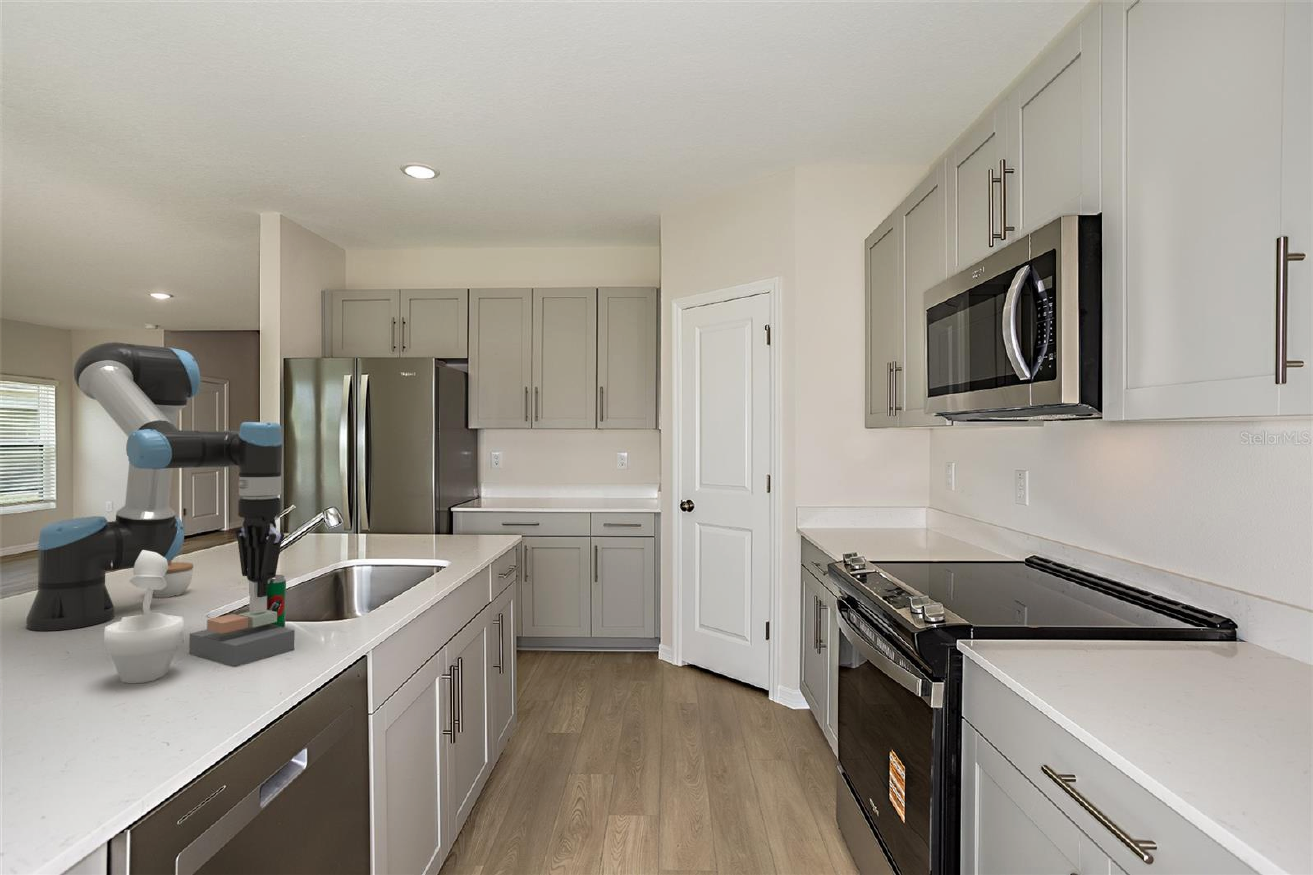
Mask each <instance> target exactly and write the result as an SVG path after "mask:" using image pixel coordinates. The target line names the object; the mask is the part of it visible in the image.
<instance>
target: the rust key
mask: <svg viewBox="0 0 1313 875" xmlns="http://www.w3.org/2000/svg"><path fill="white" fill-rule="evenodd" d="M247 627H248V617H245V616H240V615H238V614H235V613H232V614H226V615H222V616H218V617H217V616H216V617H213V618H209V619H206V630H210V631H214V632H217V633H221V634H223V633H227V632H231V631H235V630H239V629H243V628H247Z"/></svg>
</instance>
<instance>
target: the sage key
mask: <svg viewBox="0 0 1313 875" xmlns="http://www.w3.org/2000/svg"><path fill="white" fill-rule="evenodd" d="M237 615H240V616H245V617H248V627H252V628H254V627H258V626H262V625H266V624H270V623H274V622H277V612H274V611H270V610H267V611H265V612H261V613H256V614H251V613H249V611H246V612H241V613H238V614H237Z"/></svg>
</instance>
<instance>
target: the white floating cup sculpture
mask: <svg viewBox="0 0 1313 875" xmlns="http://www.w3.org/2000/svg"><path fill="white" fill-rule="evenodd" d="M123 550H124V548H123ZM111 566H113V564H112V563H111ZM168 568H169V567H168V563H167V559H166V558H164V557H163V556H161V555H160V554H158V553H156V552H151V551H146V550H142V552H141V553H140V555H139V556H138V558H137V560H136V562H135V565H134V568H132V573H133V576H132V577H131V578H130V579H129V580H128V582H129V583H130V584H131V585H133V586H135V587H136V588H140V589H145V593H144V595H143V602H142V609H143V614H139V615H132V616H129V615H128V616H122V618H121V620H119V621H115V622H113V623H111V624H108V625H105V626H104V640H103V641H104V642H103V643H104V646H103V647H104V648H103V649H104V651H103V652H104V653H103V654H105V655H110V657H111V659H112V662H113V664H114V667H115V669H116V672H117V673H118V677H119V679H120V682H122V683H123V682H124V683H127V684H133V685H134V684H144V683H149V682H153V681H156V680H159V679H160V678H162V677H164V676H165V675H167V673H168V671H169V669H170V665H171V664H172V661H173V658H174V656H175V654H176V651H177V648H178V646H179V645H181V644H182V643H184V637H185V636H184V635H185V634H184V632H185V630H184V629H185V620H184V617H183V616H179V615H171V614H170V615H168V614H164V613H161V612H160V613H159V612H152V610H151V602H152V599H153V596H154V595H153V590H162V589H163V588H165V587H166V586H167V583H166V581H165V579H164V578H163V577H164V575H165V573H166V571H167V570H168Z"/></svg>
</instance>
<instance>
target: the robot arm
mask: <svg viewBox="0 0 1313 875" xmlns="http://www.w3.org/2000/svg"><path fill="white" fill-rule="evenodd" d="M73 378H74V382H75V384H76V386H77V387H78V389H79V390H80V391H81V392H82V393H83V394H84V396H86V397H88V398H90V399H93V400H96V402H98V403H99V405H100V406H101V408H103V410H104V411H105V412H106V413H107V414H108V415H109V417H111V419H112V420H113V421H114V422H115V423H116V425H117V426H118V428H120V430H121V431H122V432H123V433H124V434H125V435H126V436H127V440H126V445H125V446H126V448H125V450H126V451H125V453H126V455H127V457H128V462H129V463H128V473H127V481H126V482H127V483H126V492H125V502H124V503H125V504H124V506H122V507H121V508H119V509H118V510H117V511H116V513H115V514H116V515H115V521H114V520H113V521H108V520H107V518H106V517H105V516H98V515H97V516H86V517H76V518H70V519H65V520H60V521H55V522H52V523H50V524H47V525H45V526H43V527H42V528H41V530H40V531H39V538H38V544H37V548H36V549H37V550H38V557H37V559H38V566H37V571H38V572H37V574H38V576H37V593H36V596H35V598H34V600H33V602H32V605H31V607H30V608H29V611H28V613H27V617H26V629H28V630H32V631H39V632H40V631H43V632H44V631H45V632H46V631H63V630H64V631H65V630H72V629H79V628H85V627H90V626H94V625H98V624H102V623H105V622H108V621H110V620H112V619H113V618H114V617H115V606H114V603H113V600H112V598H111V596H110V594H109V591H108V588H107V586H106V573H107V572H111V571H113V572H114V571H120V570H127V569H134V565H135V562H136V560H137V558H138V556H139V555H140V553H141V552H142V550H146V551H151V552H156V553H158V554H160V555H161V556H163V557H164V558H166V559H167V562H170V561H171V562H173V560H174V559H175V558H176V557H177V556H178V555H179V553H180V551H181V550H182V548H183V544H184V539H185V530H184V524H183V522H182V520H181V518H179V517H177V516H176V511H175V510H174V509H172V508H171V507H170V498H171V487H172V478H173V469H183V468H184V469H185V468H186V469H188V468H192V469H193V468H231V467H234V468H236V467H237V468H238V476H239V477H238V478H239V479H238V480H239V481H238V482H237V485H238V495H239V497H241V498H240V499H239V500H238V502H237V503H238V506H237V507H238V508H237V512H238V513H237V514H238V516H239V517H240V518H242V519H243V518H244V519H243V523H242V527H241V528H239V529H235V530H234V534H235V537H236V539H237V540H236V541H237V546H238V551H239V552H238V554H239V562H240V569H241V576H242V577H246V578H247V581H249V585H248V586H249V588H248V590H249V591H248V592H249V601H248V602H249V603H248V604H249V608H248V610H249V611H248V612H249V613H251V614H256V613H261V612H265V611H267V594H268V580H269V579H270V578H274V577H275V576H276V575H277V569H278V563H279V557H280V553H281V546H282V543H283V541H284V539H285V533H284V532H283V531H282V532H278V530H277V523H276V519H275V518H276V517H278V516H280V515H281V511H282V508H281V507H282V504H281V502H282V500H281V498H280V497H279V496H281V495H282V461H283V460H282V454H283V438H282V436H283V435H282V426H281V424H279V423H277V422H266V421H263V422H261V421H244V422H241V424H240V426H239V431H236V430H180V429H178V419H179V412H180V411H182V410H183V409H184V408H186V407H187V405H188V399H191V398H194V397H195V396H197V395H198V394H199V390H200V387H201V372H200V368H199V365H198V363H197V361H196V359H195V358H194V356H193V355H192V354H191V353H190V352H188V351H186V350H183V349H179V348H178V349H177V348H174V347H173V348H172V347H168V346H166V347H165V346H157V345H145V344H144V345H143V344H133V343H126V342H105V343H100V344H96V345H94V346H93V347H91V348H88V349H87V350H85V351H84V352H82V353H81V355H80V356H79V357H78V358H77V360H76V362H75V364H74V367H73ZM123 548H124V550H123ZM111 563H112V564H113V566H111Z"/></svg>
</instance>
